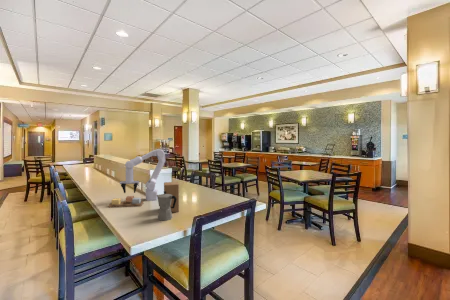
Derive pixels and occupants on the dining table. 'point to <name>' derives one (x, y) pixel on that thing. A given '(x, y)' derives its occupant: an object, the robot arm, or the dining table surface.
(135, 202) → the slate cube
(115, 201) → the ochre cube
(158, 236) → the dining table surface
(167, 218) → the coffeepot
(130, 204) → the frame
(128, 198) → the terracotta cube
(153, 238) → the dining table surface
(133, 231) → the dining table surface
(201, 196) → the dining table surface
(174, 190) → the wooden block
